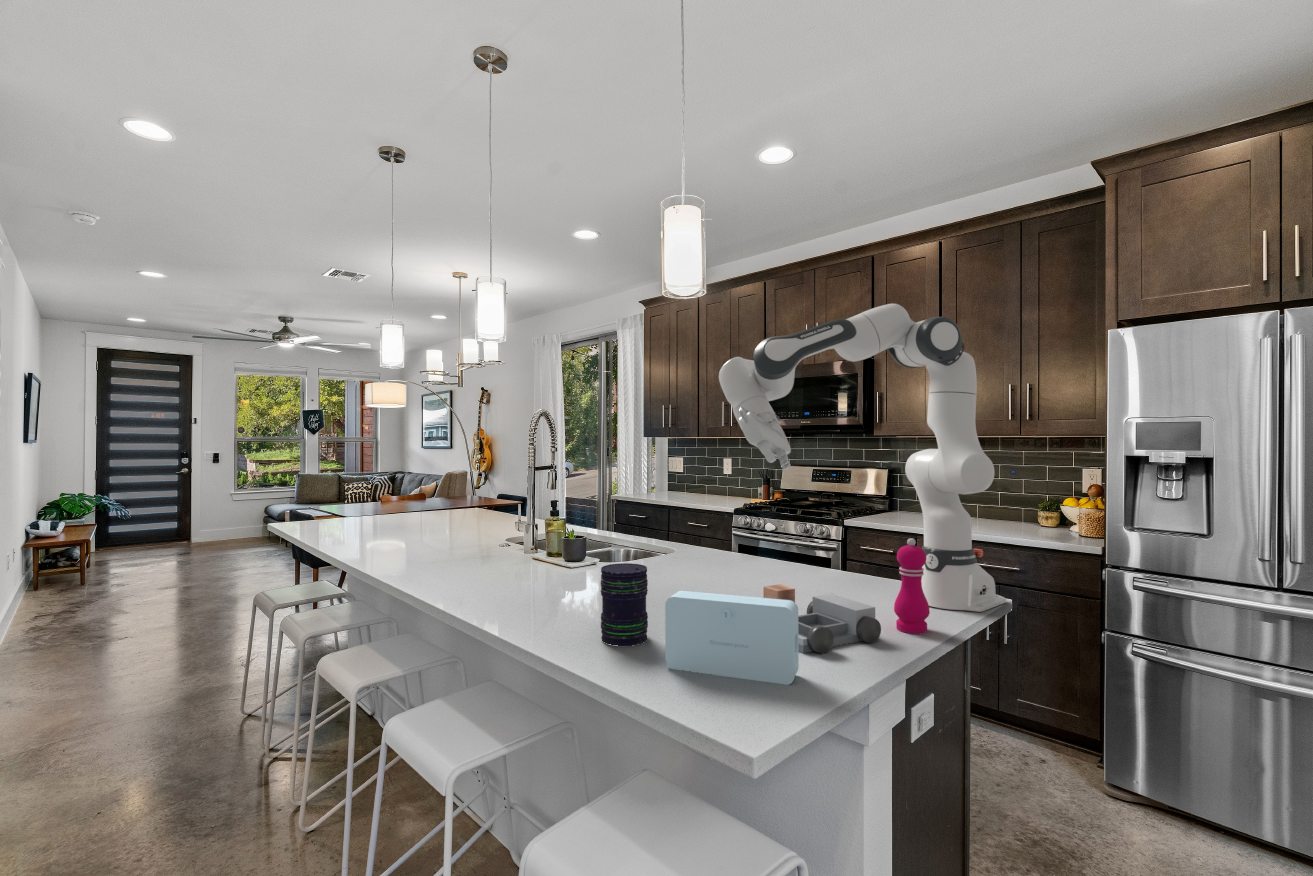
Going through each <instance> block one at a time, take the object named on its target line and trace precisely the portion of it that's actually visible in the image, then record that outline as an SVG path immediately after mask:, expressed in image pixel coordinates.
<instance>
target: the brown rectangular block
mask: <svg viewBox="0 0 1313 876" xmlns="http://www.w3.org/2000/svg"><path fill="white" fill-rule="evenodd" d="M762 590H763V598H770V599H782V600H791V601H793V602H794V603H796V588H794V587H791V586H788V585H784V584H782V583H781V584H773V585H767V586H763V589H762Z"/></svg>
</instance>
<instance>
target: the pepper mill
mask: <svg viewBox="0 0 1313 876" xmlns="http://www.w3.org/2000/svg"><path fill="white" fill-rule="evenodd" d="M906 544H907V545H906ZM906 544H905V545H903V546H901V547H899V549H898V551H897V553H896V560H897V562H898V563H899V565H900V567H899V568H898V569H899V574H900V575H901V586H900V590H899V592H898V594H897V596H896V598H895V601H894V605H893V611H894V614H895V615H896V616H897V617H898V619H896V629H897V631H899V630H900V632H902V631H903V632H902V633H905V632H907V633H906V634H911V633H915V634H914V635H921V634H920V633H922V634H925V632H926V633H927V632H928V622H927V621H926V619H927V618H929V615H930V606H929V605H928V602H927V600H926V597H925V595H924V593H923V589H922V582H921V580H922V576H923V575H924V573H923V571H924V569H923V568H922V566H923V565H924V564H925V563H926V554H925V552H924V550H923V549H922V547H920V546H917V545H916V544H917V542H916V539H914V538H911V537H910V538H908V539H907V541H906Z"/></svg>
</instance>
